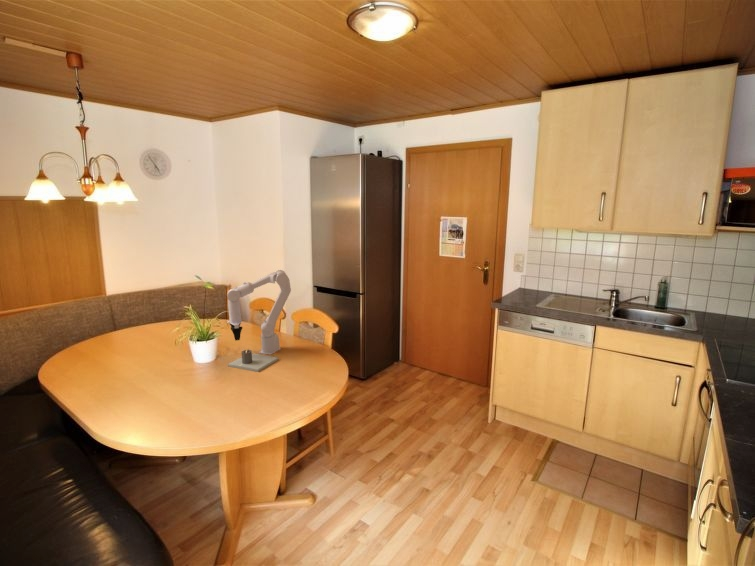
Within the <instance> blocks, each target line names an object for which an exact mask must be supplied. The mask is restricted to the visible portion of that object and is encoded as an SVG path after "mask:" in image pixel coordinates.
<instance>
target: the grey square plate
mask: <svg viewBox="0 0 755 566" xmlns="http://www.w3.org/2000/svg"><path fill="white" fill-rule="evenodd" d="M278 360H279V357H277V356H271V355H267V354H261V353H252V363H250V364H243V363H242V356H241V357H239V358H236V359H235V360H233V361H231V362H229V363H228V364H227V367H230V368H234V369H239V370H240V369H241V370H245V371H251V372H255V373H256V372H257V373H259V372H261V371H263V370H264V369H266V368H267V367H269V366H271V365H272V364H274V363H275V362H278Z"/></svg>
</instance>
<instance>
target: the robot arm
mask: <svg viewBox="0 0 755 566" xmlns="http://www.w3.org/2000/svg"><path fill="white" fill-rule="evenodd" d="M269 283H270V284H276V283H277V285H278V286H279V288H280V291H279V293H278V295H277V298H276V300H275V301H274V303H273V305H272V308H271V310H270V312H269V314H268V316H267V317H266V318H265V320H264V322H261V325H260V330H261V335H260V342H261V344H260V345H261V350H259V351H258V353H257V354H261V355H267V356H271V355H273V354H276V353H277V352H278V351H280V350H281V349H282V348H281V347H280V345H281V344H280V337H279V335H278V334H277V333H275V328H276V326H277V321H278V319H279V317H280V315H281V312H282V311H283V309H284V306H285V304H286V302H287V300H288V299H289V296H290V294H291V291H292V288H291V282H290V278H289V276H288V275H287V274H286V272H285V271H284V270H283V269H282V270H281V269H278V270H276V271H272V272H270V273H269V274H267V275H265V276H262V277H260V278H258V279H257V280H255V281H253V282H249V281H247V282H246V281H244V282H242V284H241V285H239V286H234V288H231V289H229V290H228V291H227V293H226V295H227V296H226V297H227V302H228V304H227V307H228V308H227V309H228V316H229V317H228V318H229V320H227V321H226V322H227V324H229V325H230V330H231V331H232V334H233V336H234V340H235V341H240V340H241V334H242V330H243V326H241V324H242V322H243V320H242V313H241V312H242V311H241V303H240V298H244V297H246V296H248V295H250V294H252V293H254V291H255V289H258V288H259V287H262V286H264V285H266V284H269Z"/></svg>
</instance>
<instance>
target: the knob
mask: <svg viewBox="0 0 755 566" xmlns="http://www.w3.org/2000/svg"><path fill="white" fill-rule="evenodd" d="M241 357H242V363H243V364H250V363H252V350H251V349H244V350H242V351H241Z"/></svg>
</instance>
